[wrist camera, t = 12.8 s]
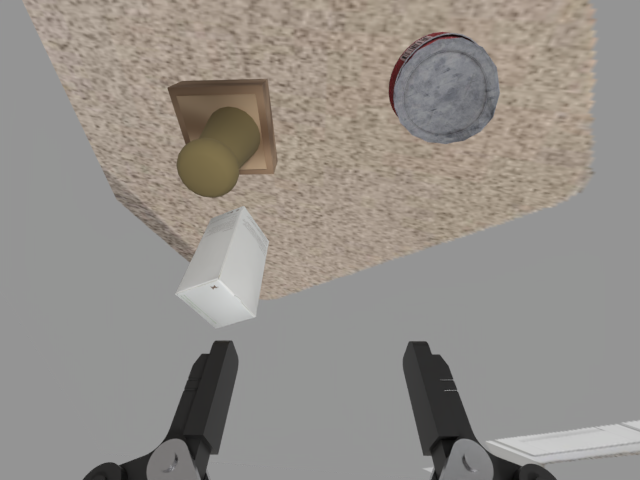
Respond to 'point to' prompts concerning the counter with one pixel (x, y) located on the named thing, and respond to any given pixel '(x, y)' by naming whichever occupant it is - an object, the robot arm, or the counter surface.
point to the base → (246, 94)
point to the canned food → (444, 88)
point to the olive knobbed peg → (218, 153)
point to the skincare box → (226, 270)
